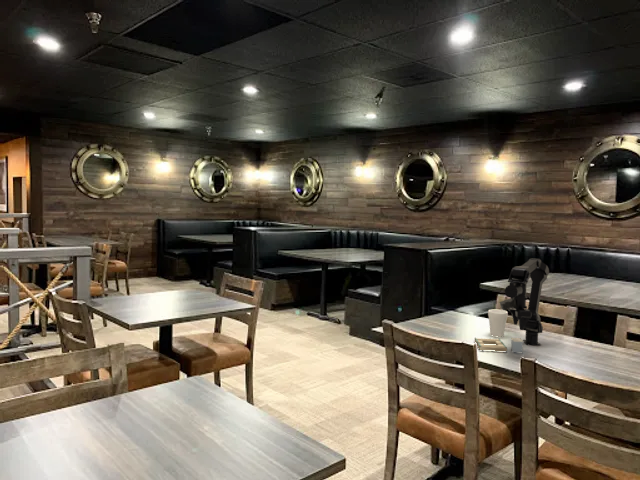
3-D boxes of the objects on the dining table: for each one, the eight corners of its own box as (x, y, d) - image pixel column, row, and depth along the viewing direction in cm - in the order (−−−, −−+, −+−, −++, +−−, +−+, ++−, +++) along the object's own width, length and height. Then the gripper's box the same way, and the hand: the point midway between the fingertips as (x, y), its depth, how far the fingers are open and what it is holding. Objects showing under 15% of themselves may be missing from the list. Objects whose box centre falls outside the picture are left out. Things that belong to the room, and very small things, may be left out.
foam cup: (510, 337, 251) (511, 312, 250) (496, 339, 247) (497, 314, 246) (497, 332, 260) (498, 308, 258) (483, 334, 256) (484, 310, 255)
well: (474, 342, 241) (474, 337, 241) (499, 343, 240) (499, 338, 240) (480, 351, 228) (480, 346, 227) (506, 352, 226) (506, 347, 226)
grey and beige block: (510, 350, 230) (511, 337, 229) (519, 350, 229) (520, 338, 229) (513, 353, 226) (513, 340, 225) (522, 353, 225) (522, 340, 225)
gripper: (496, 290, 235) (495, 321, 236) (506, 298, 216) (505, 332, 218) (520, 290, 234) (519, 322, 235) (532, 298, 215) (531, 333, 217)
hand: (518, 327), depth 226 cm, fingers open, 9 cm apart
